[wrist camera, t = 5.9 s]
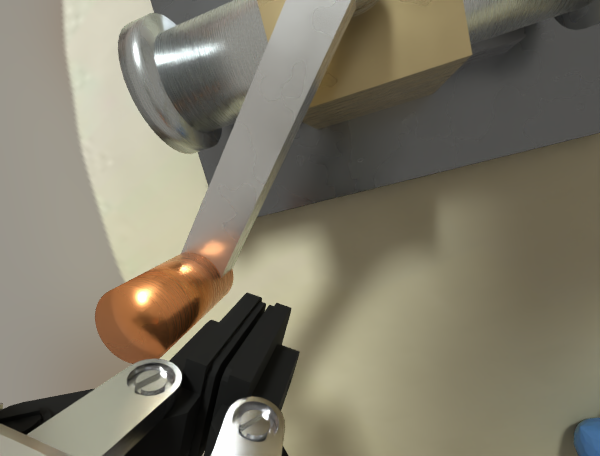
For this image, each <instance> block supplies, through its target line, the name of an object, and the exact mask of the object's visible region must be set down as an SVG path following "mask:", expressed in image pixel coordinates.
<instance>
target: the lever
mask: <svg viewBox="0 0 600 456" xmlns="http://www.w3.org/2000/svg"><path fill="white" fill-rule="evenodd" d="M378 1H379V0H286V1H285V3H284V6H283V8H282V11H281V13H280V15H279V18H278V20H277V23H276V25H275V28H274V30H273V32H272V35H271V37H270V40H269V42H268V44H267V47H266V49H265V52H264V54H263V57H262V59H261V61H260V64H259V66H258V69H257V71H256V73H255V76H254V78H253V81H252V83H251V86H250V88H249V90H248V93H247V95H246V98H245V100H244V103H243V105H242V107H241V110H240V112H239V115H238V117H237V119H236V122H235V124H234V127H233V129H232V132H231V134H230V136H229V139H228V141H227V144H226V146H225V149H224V151H223V153H222V156H221V158H220V161H219V163H218V165H217V168H216V170H215V173H214V175H213V178H212V180H211V182H210V185H209V187H208V190H207V192H206V194H205V197H204V199H203V202H202V204H201V207H200V209H199V211H198V214H197V216H196V219H195V221H194V224H193V226H192V228H191V231H190V233H189V236H188V238H187V240H186V243H185V245H184V248H183V250H182V253H181V254H180V255H178V256H176V257H174V258H172V259H170V260H168V261H166V262H164V263H162V264H160V265H158V266H157V267H155V268H153V269H151V270H149V271H147V272H145V273H143V274H141V275H139V276H137V277H135V278H133V279H131V280H129V281H128V282H126V283H124V284H122V285H120V286H118V287H116V288H114V289H112V290H110V291H108V292H107V293H105V294H104V295H103V296H102V297H101V299H100V300H99V302H98V304H97V307H96V312H95V322H96V327H97V331H98V333H99V335H100V338H101V339H102V341H103V343H104V344H105V345H106V347H107V348H108V349H109V350H110V351H111V352H112V353H113V354H114V355H116V356H117V357H118V358H120V359H122V360H124V361H126V362H128V363H132V364H134V363H136V362H139V361H142V360H146V359H159V358H160V357H161V356H163V355H164V354H165V353H166V352H167V351H168V350H169V349H170V348H171V347H172V346H173V345H174V344H175V343H176V342H177V341H178V340H179V339H180V338H181V337H182V336H183V335H184V334H186V333H187V332H188V331H189V330H190V329H191V328H192V327H193V326H194V325H195V324H196V323H197V322H198V321H199V320H200V319H201V318H202V317H203V316H204V315H205V314H206V313H207V312H208V311H210V310H211V309H212V308H213V307H214V306H215V305H216V304H217V303H218V302H219V301H220V300H221V299H222V298H223V297H224V296H225V295H226V294H227V293H228V292H229V291H230V289H231V287H232V283H233V270H232V268H233V266H234V264H235V262H236V260H237V257H238V255H239V253H240V251H241V249H242V247H243V245H244V243H245V241H246V239H247V236H248V234H249V232H250V230H251V228H252V226H253V224H254V222H255V220H256V218H257V215H258V213H259V211H260V209H261V207H262V205H263V203H264V201H265V199H266V196H267V194H268V192H269V190H270V188H271V186H272V184H273V182H274V180H275V178H276V175H277V173H278V171H279V169H280V167H281V165H282V163H283V161H284V159H285V157H286V154H287V152H288V150H289V148H290V146H291V144H292V142H293V140H294V138H295V136H296V133H297V131H298V129H299V127H300V125H301V123H302V121H303V119H304V117H305V114H306V112H307V110H308V108H309V106H310V104H311V102H312V100H313V98H314V96H315V93H316V91H317V89H318V87H319V85H320V83H321V81H322V79H323V77H324V75H325V72H326V70H327V68H328V66H329V64H330V62H331V60H332V58H333V56H334V53H335V51H336V49H337V47H338V45H339V43H340V41H341V39H342V37H343V35H344V32H345V30H346V28H347V26H348V24H349V22H350V20H351V18H352V17H353V16H356V15H359V14H362V13H364V12H366V11H367V10H369V9H370V8H371V7H373V6H374V5H375V4H376V3H377V2H378Z"/></svg>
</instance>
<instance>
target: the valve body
mask: <svg viewBox="0 0 600 456" xmlns="http://www.w3.org/2000/svg"><path fill="white" fill-rule="evenodd" d="M285 1H286V0H151V3H152V7H153V10H154V13H151V14H148V15H146V16H144V17H142V18H140V19H137V20H135V21H133V22H131V23H129V24H127V25H126V26H124V28H123V29H122V30H121V33H120V35H119V41H118V54H119V61H120V66H121V70H122V74H123V77H124V80H125V83H126V85H127V88H128V90H129V92H130V95H131V97H132V99H133V101H134V103H135V104H136V106H137V108H138V110H139V111H140V113H141V115H142V116H143V118H144V119H145V121H146V122H147V123H148V125H149V126H150V127H151V128H152V130H153V131H154V132H155V133H156V134H157V135H158V136H159V137H160V138H161V139H162V140H163V141H164V142H165V143H166V144H167V145H169V146H170V147H172V148H173V149H175V150H177V151H179V152H181V153H185V154H192V153H196V152H198V154H199V157H200V161H201V164H202V167H203V170H204V173H205V177H206V180H207V183H208V186H209V185H210V182H211V180H212V178H213V175H214V173H215V170H216V168H217V165H218V163H219V161H220V158H221V156H222V153H223V151H224V149H225V146H226V144H227V141H228V139H229V136H230V134H231V132H232V129H233V127H234V124H235V122H236V119H237V117H238V115H239V112H240V110H241V107H242V105H243V103H244V100H245V98H246V95H247V93H248V90H249V88H250V86H251V83H252V81H253V78H254V76H255V73H256V71H257V69H258V66H259V64H260V61H261V59H262V57H263V54H264V52H265V49H266V47H267V44H268V42H269V40H270V37H271V35H272V32H273V30H274V28H275V25H276V23H277V20H278V18H279V15H280V13H281V11H282V8H283V6H284V3H285ZM596 133H600V0H379V1H378V2H377V3H376V4H375V5H374V6H373V7H371V8H370V9H369V10H367V11H366V12H364V13H362V14H359V15H356V16H353V17H352V18H351V20H350V22H349V24H348V26H347V28H346V30H345V32H344V35H343V37H342V39H341V41H340V43H339V45H338V47H337V49H336V51H335V53H334V56H333V58H332V60H331V62H330V64H329V66H328V68H327V70H326V72H325V75H324V77H323V79H322V81H321V83H320V85H319V87H318V89H317V91H316V93H315V96H314V98H313V100H312V102H311V104H310V106H309V108H308V110H307V112H306V114H305V117H304V119H303V121H302V123H301V125H300V127H299V129H298V131H297V133H296V136H295V138H294V140H293V142H292V144H291V146H290V148H289V150H288V152H287V154H286V157H285V159H284V161H283V163H282V165H281V167H280V169H279V171H278V173H277V175H276V178H275V180H274V182H273V184H272V186H271V188H270V190H269V192H268V194H267V196H266V199H265V201H264V203H263V205H262V207H261V209H260V211H259V213H258V215H257V217H259V216H263V215H267V214H271V213H275V212H279V211H284V210H288V209H292V208H296V207H300V206H304V205H308V204H312V203H316V202H320V201H324V200H328V199H332V198H336V197H340V196H344V195H349V194H353V193H357V192H361V191H365V190H369V189H373V188H377V187H381V186H385V185H389V184H393V183H397V182H401V181H405V180H409V179H414V178H418V177H422V176H426V175H430V174H434V173H438V172H442V171H446V170H450V169H454V168H458V167H462V166H466V165H470V164H474V163H479V162H483V161H487V160H491V159H495V158H499V157H503V156H507V155H511V154H515V153H519V152H523V151H527V150H531V149H535V148H539V147H544V146H548V145H552V144H556V143H560V142H564V141H568V140H572V139H576V138H580V137H584V136H588V135H592V134H596Z"/></svg>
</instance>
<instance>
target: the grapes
mask: <svg viewBox="0 0 600 456" xmlns="http://www.w3.org/2000/svg"><path fill="white" fill-rule="evenodd" d="M574 446H575V448H576V451H577V454H578V456H600V418H590V419H585V420H583V421H581V422H580V423H579V424H578V425H577V427H576V429H575V432H574Z"/></svg>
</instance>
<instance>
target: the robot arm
mask: <svg viewBox="0 0 600 456" xmlns="http://www.w3.org/2000/svg"><path fill="white" fill-rule="evenodd" d="M265 307H266V303H263V302H262V298H261V297H258V296H255V295H252V294H250V293H246V294H245V295H244V296H243V297H242V298H241V299H240V300H239V302H238V303H237V304H236V305H235V306H234V307H233V308H232V309H231V310H230V311H229V312H228V313H227V315H226V316H225V317H224V318H223V319H222V320H221V321H220V322H216V321H214V320H210V321H209V322H207V323H206V324H205V325H204V326H203V327H202V328H201V329H200V330H199V331H198V332H197V333H196V334H195V335H194V336H193V337H192V339H191V340H190V341H189V342H188V343H187V344H186V345H185V346H184V347H183V348H182V349H181V350H180V351H179V352H178V353H177V354H176V355H175V356H174V357H173V358H172V359H171V360H170V361H167V360H163V359H146V360H142V361H139V362H136V363H134V364H133V365H131V366H129V367H127V368H126V369H124V370H123V371H122V372H120V373H118V374H117V375H116V376H114V377H112V378H111V379H109V380H108V381H106V382H105V383H103V384H102V385H100V386H99V387H97V388H96V389H90V390H85V391H80V392H75V393H70V394H64V395H59V396H54V397H48V398H43V399H39V400H33V401H28V402H22V403H19V404H16V405H12V406H9V407H7V408H5V409H3V403H0V456H202V454H203V453H204V451H205V453H204V456H288V454H287V452H286V451H285V449H284V447H283V439H284V432H285V420H284V417H283V415H282V412H281V409H282V406H283V403H284V401H285V398H286V395H287V392H288V389H289V386H290V383H291V380H292V376H293V373H294V370H295V366H296V363H297V360H298V356H299V351H296V350H293V349H291V348H288V347H285V346H282V342H283V338H284V335H285V331H286V327H287V324H288V320H289V316H290V313H291V308H290V307H287V306H284V305H281V304H279V303H276V304H275V306H272V305H269V306H268V308H267V309H266V310H265ZM264 311H265V312H264Z"/></svg>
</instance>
